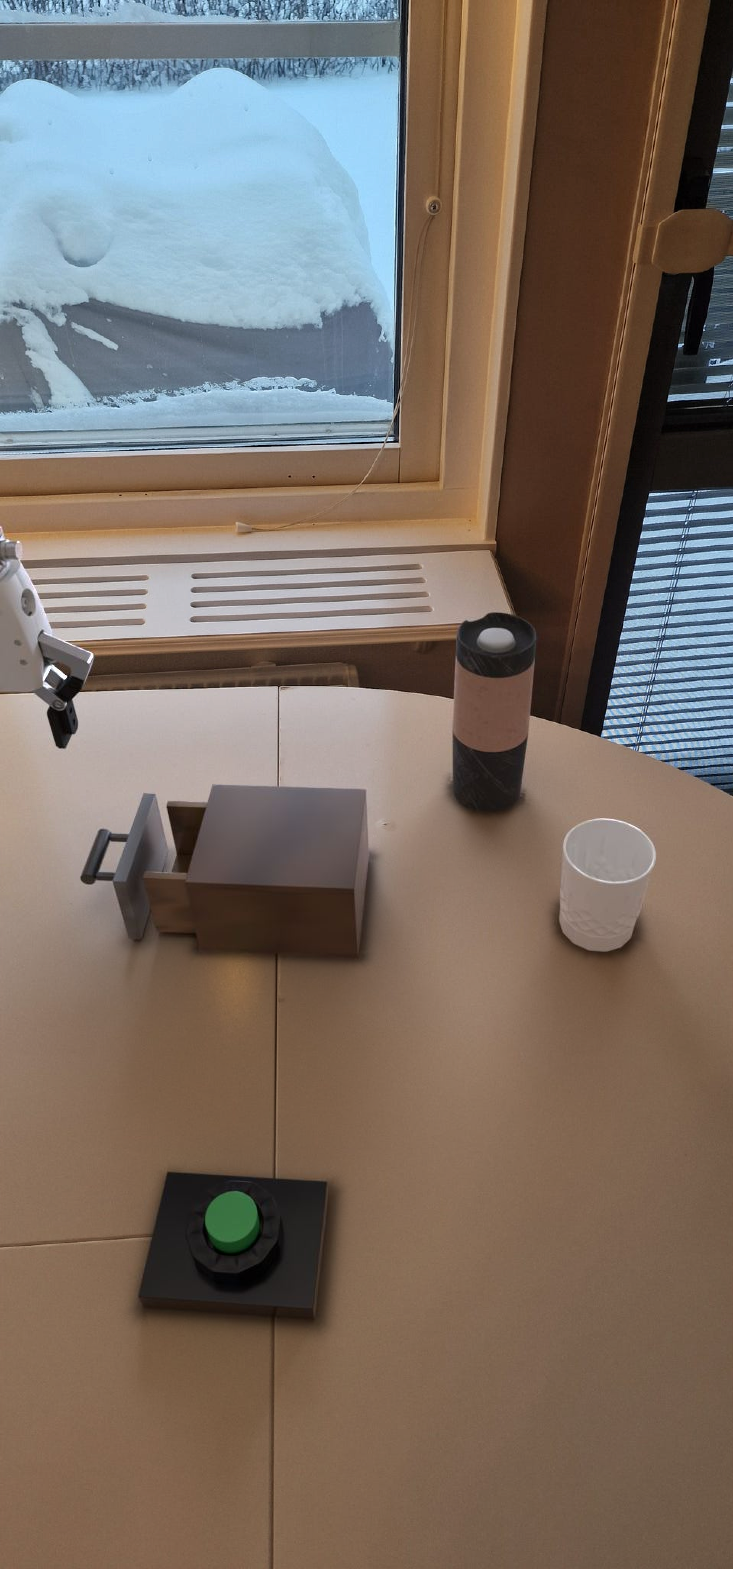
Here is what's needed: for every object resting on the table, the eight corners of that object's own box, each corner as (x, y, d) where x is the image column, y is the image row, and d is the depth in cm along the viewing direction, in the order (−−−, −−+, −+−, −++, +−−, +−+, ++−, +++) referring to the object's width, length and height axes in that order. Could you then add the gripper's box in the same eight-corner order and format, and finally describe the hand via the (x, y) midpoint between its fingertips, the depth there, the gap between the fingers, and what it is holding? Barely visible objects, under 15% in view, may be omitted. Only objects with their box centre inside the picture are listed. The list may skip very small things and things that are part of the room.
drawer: (83, 936, 96) (64, 879, 91) (115, 848, 104) (99, 791, 99) (273, 945, 94) (265, 887, 89) (290, 855, 103) (283, 797, 98)
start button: (203, 1251, 71) (200, 1240, 70) (213, 1201, 74) (210, 1189, 73) (255, 1255, 71) (252, 1243, 70) (263, 1204, 73) (261, 1192, 72)
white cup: (631, 968, 92) (648, 892, 86) (544, 945, 94) (554, 870, 88) (645, 905, 98) (662, 829, 91) (562, 885, 100) (573, 810, 93)
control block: (143, 1309, 72) (133, 1285, 69) (171, 1185, 78) (163, 1159, 76) (315, 1321, 71) (311, 1297, 68) (329, 1195, 78) (326, 1169, 75)
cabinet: (200, 953, 95) (184, 882, 89) (224, 854, 104) (212, 783, 98) (358, 960, 94) (354, 888, 87) (369, 859, 103) (366, 788, 97)
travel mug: (513, 822, 106) (528, 662, 93) (441, 807, 108) (446, 649, 95) (529, 775, 112) (545, 618, 98) (460, 762, 114) (467, 606, 100)
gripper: (81, 532, 78) (122, 712, 89) (-139, 528, 79) (-71, 706, 91) (51, 584, 72) (99, 769, 84) (-185, 579, 74) (-106, 761, 85)
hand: (11, 736), depth 87 cm, fingers open, 9 cm apart
